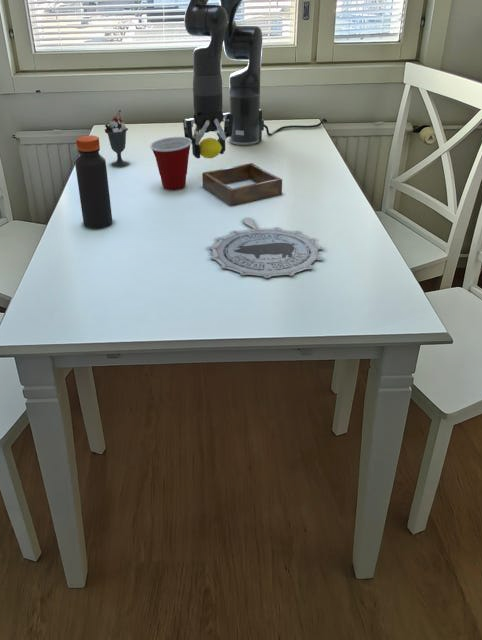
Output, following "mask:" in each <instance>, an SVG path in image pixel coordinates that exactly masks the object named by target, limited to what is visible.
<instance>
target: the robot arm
mask: <svg viewBox="0 0 482 640" xmlns="http://www.w3.org/2000/svg"><path fill="white" fill-rule="evenodd" d="M210 1H211V0H189V2H188V4H187V7H186V10H185V13H184V18H183V23H184V28H185V31H186V33H187V34H188V35H189V36H192V37H199V38H200V37H205V38H210V41H209V43H208V45H203V46H199V47H196V48H195V49H194V50H193V53H192V63H193V64H192V66H193V68H192V69H193V77H192V94H193V98H192V99H193V113H194V114H193V117H192V118H188V119H187V118H183V120H182V125H183V132H184V137H186V138H190V139H191V140H192V143H191V145H192V146H191V151H192V156H194V158H196V159H200V158H201V155H200V145H199V143H200V142H201V141H202V138H203V137H204V135H205V133H206V134H207V133H210V132H214V133H215V134H216V136H217V137H218V138H217V141H218V142H219V143H220V145H221V146H222V149H221V151H220V153H219V155H224V154H225V152H226V139H227V138H229V143H231V144H233V145H235V146H251V145H256V144H258V143H259V142H262V141H263V131H264V130H266V135H267V136H269V137H270V136H273V135H274V134H276V133H278V132H280V131H282V130H284V129H293V128H294V129H295V128H296V129H305V128H306V129H312V128H317V127H320V126H321V125H322V124H323V123H328V120H327V119H326V118H322V119H321V120H320V122H318V123H317V124H312V125H311V124H309V125H295V124H294V125H293V124H292V125H284V126H281V127H279V128H277V129H276V130H275V131H274V132H272V133H270V130H269V127H268V125H266V124H265V120H264V119H263V109H261V72H262V54H263V32H262V29H261V27H260V26H257V25H237V22H236V15H237V12H238V10H239V8H240V6H241V3H242V2H243V0H218V1H219V4H208V3H209V2H210ZM223 50H224V54H225V56H226V58H227V59H229V60H232V61H245V62H247V61H248V63H247V66H246V67H245V68H243V69H241V70H238V71H235V72H233V73H231V74H230V75H229V112H228V111H226V112H225V113H223V77H222V52H223ZM222 121H223V122H224V123H223V127H222V125H221V123H222ZM194 124H195V128H194V130H193V127H194Z"/></svg>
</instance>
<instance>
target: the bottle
mask: <svg viewBox="0 0 482 640" xmlns="http://www.w3.org/2000/svg"><path fill="white" fill-rule="evenodd" d="M75 143H76V148H77V152H78V153H79V156H77V158H76V160H75V161H74V166H75V173H76V180H77V187H78V193H79V201H80V208H81V215H82V222H83V223H82V224H83V226H84V227H86V228H87V229H91V230H100V229H101V230H102V229H105V228H108V227H110V226H111V225H112V224H113V214H112V204H111V195H110V188H109V178H108V169H107V162H106V158H105V157H103V155H101V154H100V150H101V145H100V137H99V136H98V135H93V134H91V135H89V134H88V135H82V136H79V137H77V138H76V139H75Z"/></svg>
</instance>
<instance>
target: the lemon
mask: <svg viewBox="0 0 482 640" xmlns="http://www.w3.org/2000/svg"><path fill="white" fill-rule="evenodd" d="M199 145H200V157H203V158H204V159H214V158H216V157H218V156H219V155H220V151H221V149H222V146H221V145H220V143H219V142H218V139H215V138H213V137H206V138H204V139H201V140H200V142H199Z"/></svg>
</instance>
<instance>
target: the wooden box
mask: <svg viewBox="0 0 482 640" xmlns="http://www.w3.org/2000/svg"><path fill="white" fill-rule="evenodd" d="M247 180H251V181H253V182H255V183H251V184H247V185H242V186H237V187H233V188H232V187H230V186H229V185H228V184H233V183H237V182H243V181H247ZM202 188H203V189H204V190H206V191H208V192H209V193H211V194H212V195H213V196H215V197H217V198H218V199H219V200H221V201H222V202H224V203H225V204H227V205H228V206H230V207H232V206H237V205H241V204H246V203H250V202H254V201H259V200H264V199H267V198H272V197H276V196H280V195H283V179H282V178H281V177H279V176H277V175H275V174H273V173H271V172H269V171H267V170H266V169H264V168H262V167H261V166H258V165H256V164H255V163H252V162H250V163H245V164H240V165H235V166H230V167H224V168H219V169H214V170H211V171H210V170H209V171H205V172H202Z"/></svg>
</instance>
